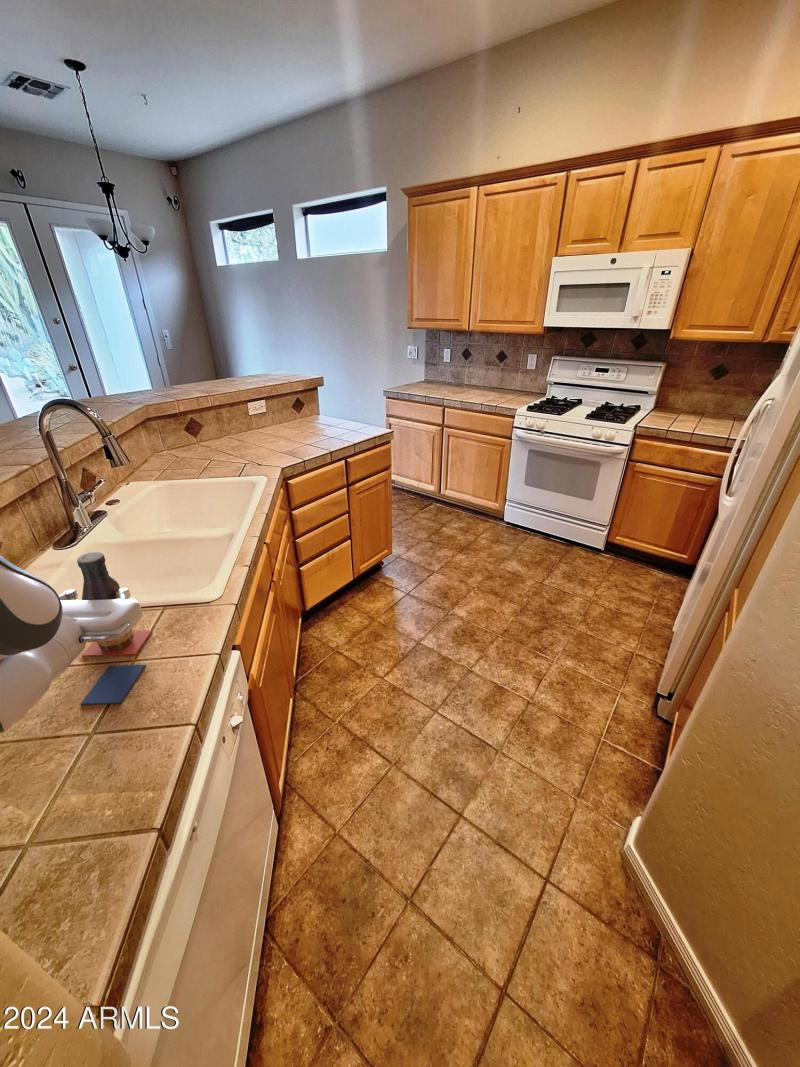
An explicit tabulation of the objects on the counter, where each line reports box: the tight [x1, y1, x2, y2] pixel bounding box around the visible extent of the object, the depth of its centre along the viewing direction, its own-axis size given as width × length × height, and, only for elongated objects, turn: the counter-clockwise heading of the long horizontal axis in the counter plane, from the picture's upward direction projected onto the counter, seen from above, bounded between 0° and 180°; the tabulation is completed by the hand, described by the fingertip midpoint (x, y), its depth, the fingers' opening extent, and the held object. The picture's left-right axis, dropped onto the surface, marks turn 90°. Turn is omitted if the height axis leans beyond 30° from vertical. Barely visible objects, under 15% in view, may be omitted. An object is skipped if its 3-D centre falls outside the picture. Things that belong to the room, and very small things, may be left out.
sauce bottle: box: [76, 551, 134, 651], centre depth 81 cm, size 7×6×20 cm
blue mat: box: [80, 664, 147, 706], centre depth 76 cm, size 7×9×1 cm
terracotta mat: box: [81, 629, 153, 658], centre depth 86 cm, size 10×7×1 cm
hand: (99, 592), depth 80 cm, fingers open, 8 cm apart
